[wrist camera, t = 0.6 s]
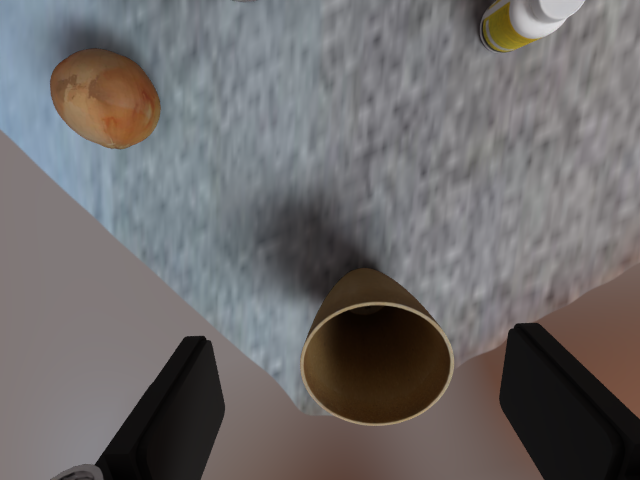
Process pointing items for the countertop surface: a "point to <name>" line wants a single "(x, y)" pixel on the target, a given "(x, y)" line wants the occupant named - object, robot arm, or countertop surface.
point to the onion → (105, 98)
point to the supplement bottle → (523, 21)
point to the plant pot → (375, 352)
